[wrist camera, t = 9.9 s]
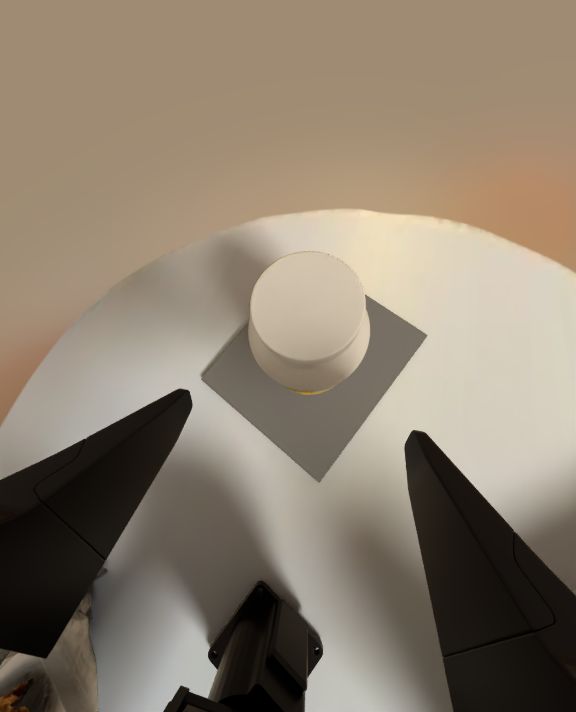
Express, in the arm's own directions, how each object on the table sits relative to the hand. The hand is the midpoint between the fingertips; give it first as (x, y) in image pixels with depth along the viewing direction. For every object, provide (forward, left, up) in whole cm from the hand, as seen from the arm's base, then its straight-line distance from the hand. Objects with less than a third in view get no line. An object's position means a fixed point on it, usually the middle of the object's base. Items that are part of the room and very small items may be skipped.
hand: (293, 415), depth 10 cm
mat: (+4, +2, -12) cm, 13 cm away
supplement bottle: (+4, +2, -12) cm, 13 cm away
